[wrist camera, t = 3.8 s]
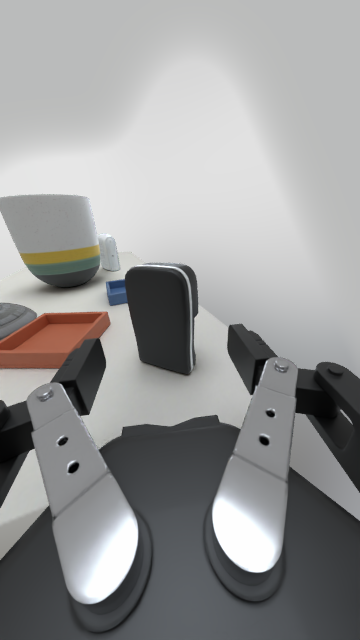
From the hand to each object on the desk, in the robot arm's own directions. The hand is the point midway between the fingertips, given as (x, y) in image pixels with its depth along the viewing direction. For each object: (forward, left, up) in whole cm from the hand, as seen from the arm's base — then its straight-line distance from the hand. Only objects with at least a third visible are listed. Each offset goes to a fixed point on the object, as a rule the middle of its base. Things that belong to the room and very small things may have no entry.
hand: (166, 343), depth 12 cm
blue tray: (+13, -34, -8) cm, 37 cm away
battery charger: (+1, -9, -8) cm, 12 cm away
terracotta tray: (+18, -13, -8) cm, 24 cm away
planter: (+34, -44, -8) cm, 56 cm away
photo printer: (+30, -63, -8) cm, 70 cm away
